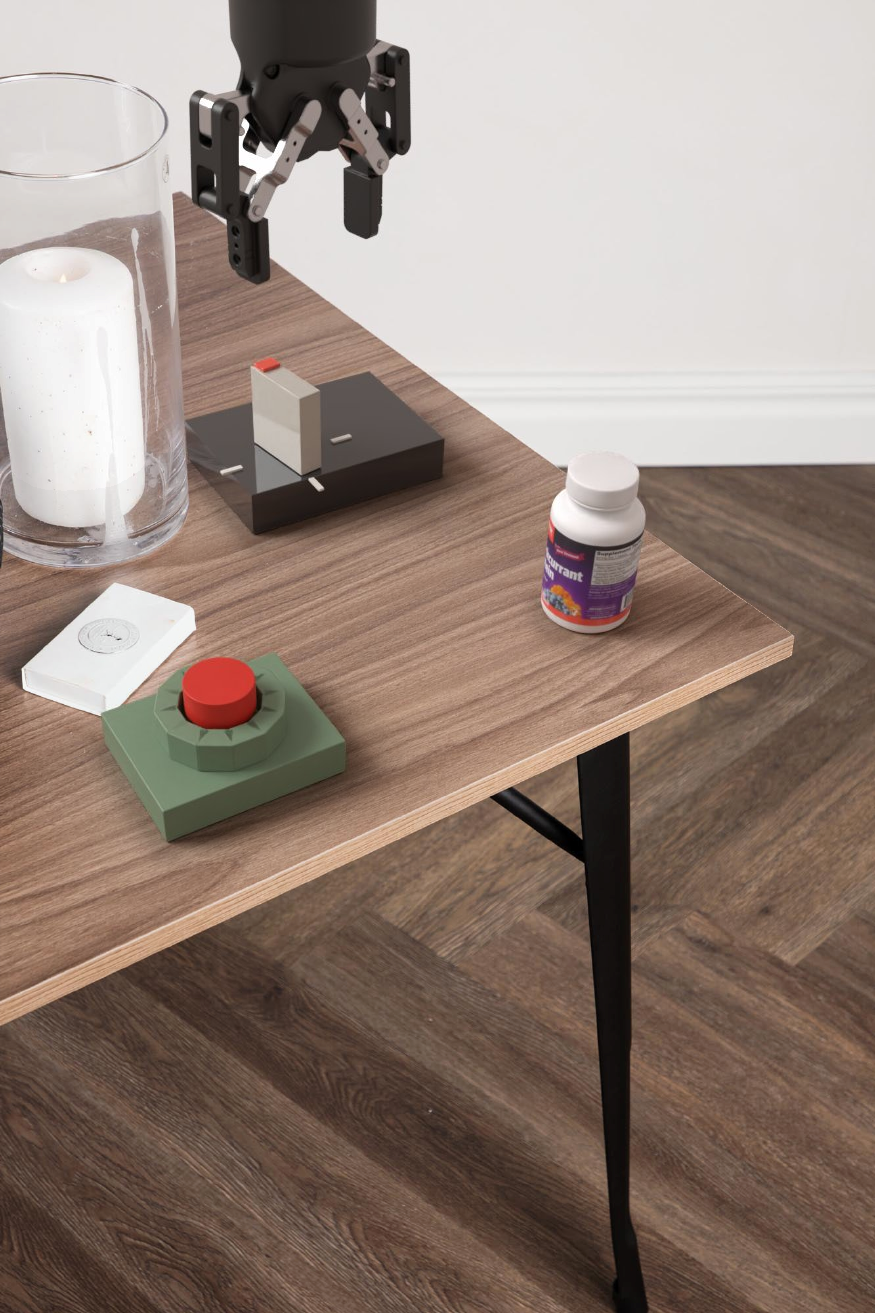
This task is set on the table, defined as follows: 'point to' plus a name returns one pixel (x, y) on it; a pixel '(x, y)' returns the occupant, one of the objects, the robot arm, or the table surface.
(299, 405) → the beige rectangular block
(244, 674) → the red button cap
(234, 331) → the table surface
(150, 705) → the button housing
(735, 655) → the table surface
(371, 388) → the panel
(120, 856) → the table surface
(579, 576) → the pill bottle
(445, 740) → the table surface
